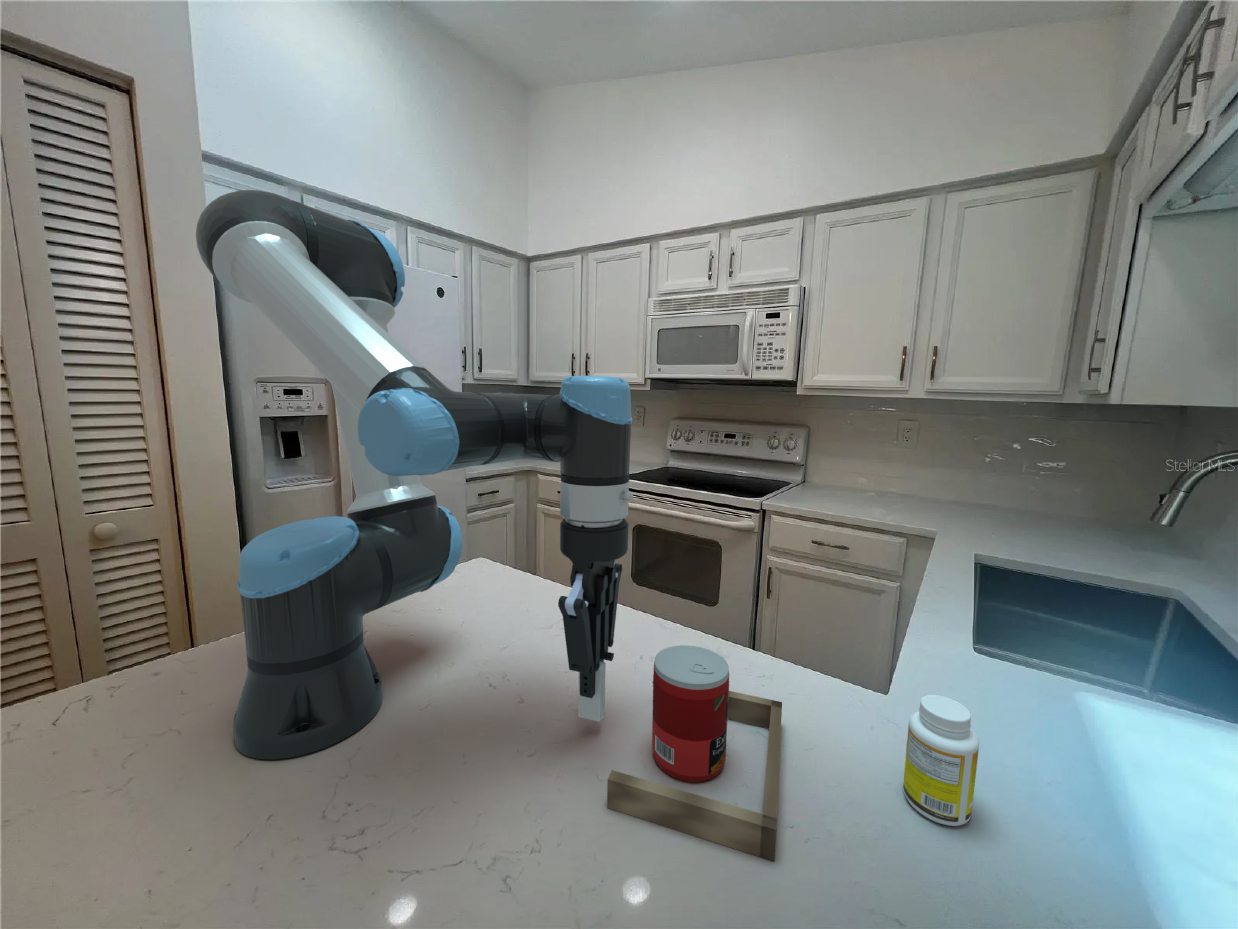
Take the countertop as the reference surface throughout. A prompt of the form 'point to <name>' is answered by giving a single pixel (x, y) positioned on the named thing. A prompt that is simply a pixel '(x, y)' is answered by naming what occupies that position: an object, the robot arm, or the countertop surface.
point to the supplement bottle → (941, 761)
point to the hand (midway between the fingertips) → (591, 715)
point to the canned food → (690, 712)
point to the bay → (708, 814)
